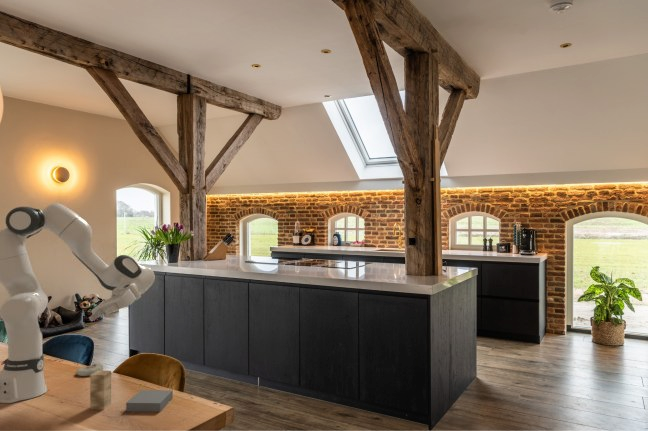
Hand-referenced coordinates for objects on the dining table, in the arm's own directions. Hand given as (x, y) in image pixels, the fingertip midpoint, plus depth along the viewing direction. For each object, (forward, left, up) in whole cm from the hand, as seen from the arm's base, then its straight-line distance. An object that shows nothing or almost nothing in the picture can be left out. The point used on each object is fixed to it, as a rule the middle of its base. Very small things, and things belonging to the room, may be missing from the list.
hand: (98, 316), depth 175 cm
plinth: (+22, -6, -30) cm, 38 cm away
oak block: (+5, -8, -30) cm, 32 cm away
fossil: (-18, +28, -31) cm, 46 cm away
